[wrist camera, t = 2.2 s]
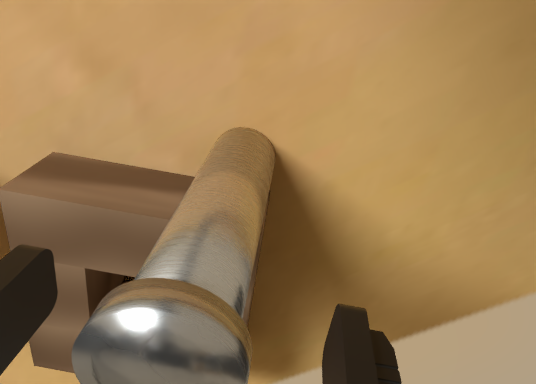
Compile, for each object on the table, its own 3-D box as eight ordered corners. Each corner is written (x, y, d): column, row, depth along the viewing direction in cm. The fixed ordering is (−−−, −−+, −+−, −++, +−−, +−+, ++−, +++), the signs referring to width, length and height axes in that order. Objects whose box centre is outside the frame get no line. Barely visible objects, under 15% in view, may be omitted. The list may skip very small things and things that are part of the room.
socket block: (53, 152, 20) (-3, 189, 17) (270, 190, 20) (261, 236, 16) (72, 311, 25) (34, 365, 22) (244, 343, 25) (233, 403, 22)
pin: (207, 112, 18) (63, 295, 8) (290, 126, 18) (257, 332, 8) (202, 185, 20) (79, 414, 10) (277, 198, 20) (236, 444, 9)
